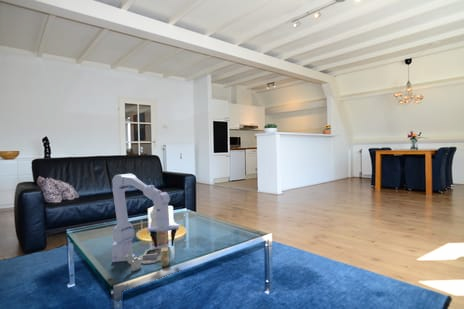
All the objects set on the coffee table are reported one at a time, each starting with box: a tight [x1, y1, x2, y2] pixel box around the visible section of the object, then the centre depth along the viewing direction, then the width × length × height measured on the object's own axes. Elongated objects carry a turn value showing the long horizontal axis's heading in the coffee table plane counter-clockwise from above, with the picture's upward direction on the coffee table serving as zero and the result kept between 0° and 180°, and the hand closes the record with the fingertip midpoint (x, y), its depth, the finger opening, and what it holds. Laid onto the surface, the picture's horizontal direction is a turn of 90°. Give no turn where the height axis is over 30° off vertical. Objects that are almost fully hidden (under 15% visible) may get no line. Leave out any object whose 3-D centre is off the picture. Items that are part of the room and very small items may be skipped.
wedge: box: [160, 247, 170, 267], centre depth 134 cm, size 3×5×7 cm, turn 7°
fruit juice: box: [150, 204, 170, 251], centre depth 160 cm, size 9×9×28 cm
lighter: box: [125, 254, 142, 272], centre depth 129 cm, size 7×2×8 cm, turn 144°
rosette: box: [138, 248, 161, 265], centre depth 142 cm, size 14×14×4 cm
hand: (164, 246), depth 134 cm, fingers open, 7 cm apart
